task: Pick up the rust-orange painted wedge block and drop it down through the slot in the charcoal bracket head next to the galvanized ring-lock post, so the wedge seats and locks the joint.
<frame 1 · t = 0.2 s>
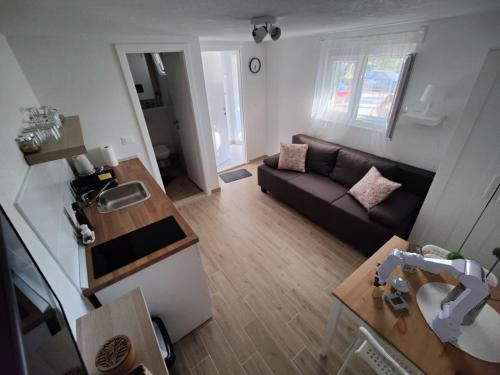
hand: (376, 280, 117), 10 cm above the table, tool pointing down, fingers open, 7 cm apart
wedge: (376, 295, 121), on the table
coffee box: (406, 266, 135), on the table
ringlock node: (395, 303, 116), on the table
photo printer: (427, 269, 132), on the table
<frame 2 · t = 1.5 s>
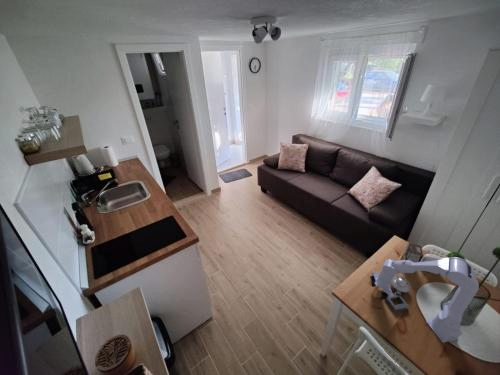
hand: (377, 292, 119), 3 cm above the table, tool pointing down, fingers open, 7 cm apart
nothing on the table moved.
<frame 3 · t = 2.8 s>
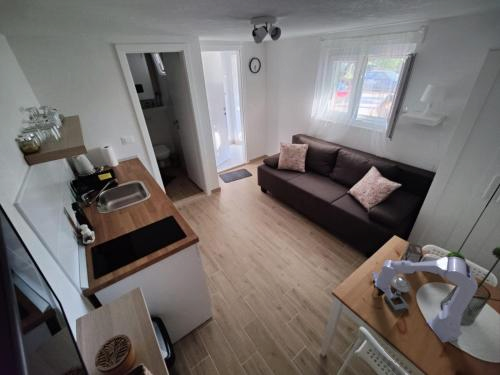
hand: (377, 293, 119), 2 cm above the table, tool pointing down, fingers closed on wedge, 2 cm apart
wedge: (376, 295, 121), on the table, touching gripper
everything else where it was.
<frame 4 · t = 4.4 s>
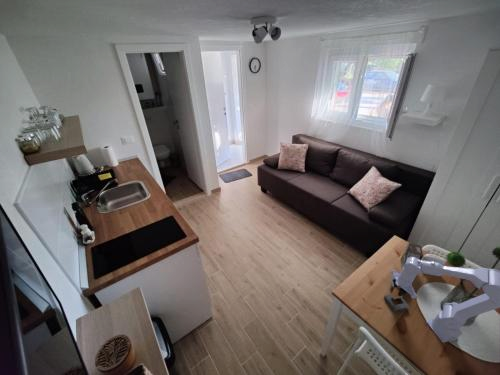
hand: (398, 292, 112), 9 cm above the table, tool pointing down, fingers closed on wedge, 2 cm apart
wedge: (396, 296, 114), point 6 cm above the table, touching gripper
everything else where it was.
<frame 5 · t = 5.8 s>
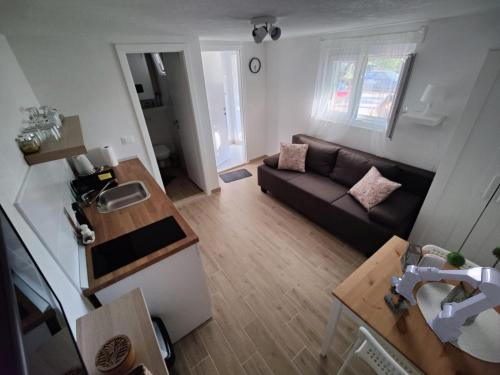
hand: (398, 299, 114), 4 cm above the table, tool pointing down, fingers closed on wedge, 2 cm apart
wedge: (395, 303, 116), resting in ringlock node, touching gripper
everything else where it was.
when the fingers open (4 cm above the table, at t = 6.2 s): wedge stays where it is, resting in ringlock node.
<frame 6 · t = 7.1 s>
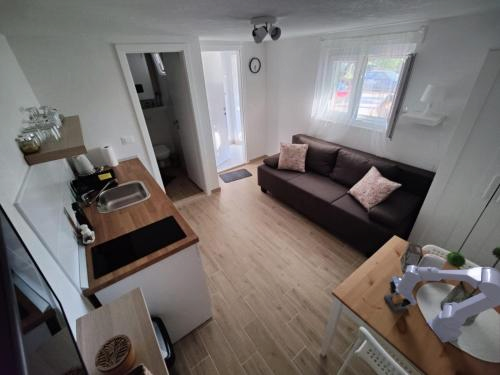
hand: (398, 299, 114), 4 cm above the table, tool pointing down, fingers open, 7 cm apart
wedge: (395, 303, 116), resting in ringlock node
everything else where it was.
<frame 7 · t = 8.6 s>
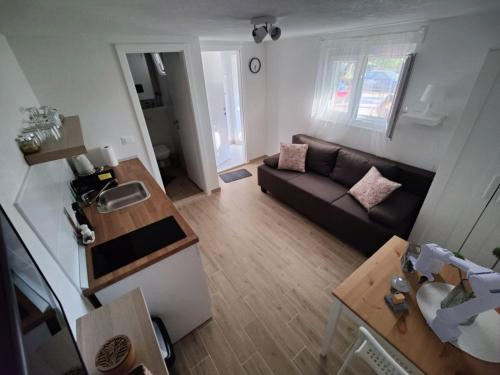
hand: (414, 277, 118), 9 cm above the table, tool pointing down, fingers open, 7 cm apart
nothing on the table moved.
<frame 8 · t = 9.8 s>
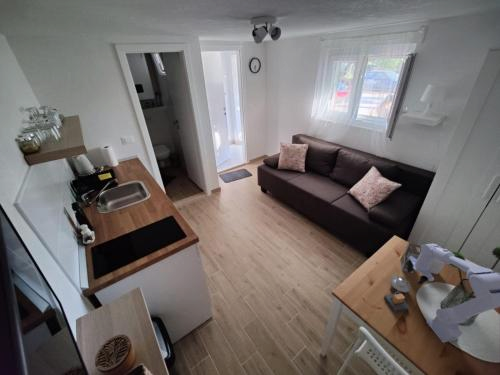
hand: (414, 277, 118), 9 cm above the table, tool pointing down, fingers open, 7 cm apart
nothing on the table moved.
at the end: wedge 0.0 cm off-centre on the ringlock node, point 0.0 cm above the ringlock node's base; wedge tilted 0°; the gripper is holding nothing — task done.
